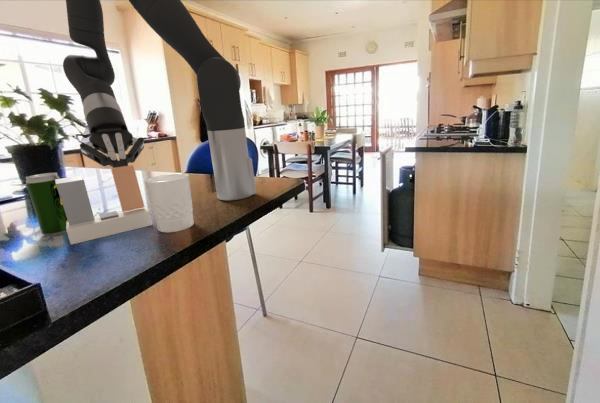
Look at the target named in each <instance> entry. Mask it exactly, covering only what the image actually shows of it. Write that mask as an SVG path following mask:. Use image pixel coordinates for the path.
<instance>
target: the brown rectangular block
mask: <svg viewBox="0 0 600 403" xmlns="http://www.w3.org/2000/svg"><path fill="white" fill-rule="evenodd" d="M110 170H111V174H112V179H113V181H114V186H115V188H116V192H117V196H118V200H119V204H120V207H121V211H122V212H126V211H131V210H135V209H140V208H144V206H145V203H144V200H143V196H142V193H141V189H140V186H139V180H138V178H137V174H136V170H135V166H134V165H132V164H131V165H128V166H123V167H115V168H113V167H111V168H110Z"/></svg>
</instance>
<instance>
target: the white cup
mask: <svg viewBox="0 0 600 403" xmlns="http://www.w3.org/2000/svg"><path fill="white" fill-rule="evenodd" d="M143 182H144V184H145V189H146V193H147V195H148V200H149V204H150V207H151V210H152V215H153V217H154V218H155V219H154V220H155V223H156V226H157V230H158V231H159V232H161V233H175V232H176V233H177V232H181V231H184V230H187V229H189V228H191V227H193V225H194V223H195V222H194V215H193V214H194V213H193V211H194V209H193V200H192V199H193V198H192V194H191V193H192V192H191V183H190V175H189V174H187V173H182V172H181V173H180V172H179V173H169V174H162V175H156V176H152V177H149V178H146V179H145V180H144V181H143Z"/></svg>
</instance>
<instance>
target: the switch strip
mask: <svg viewBox="0 0 600 403" xmlns="http://www.w3.org/2000/svg"><path fill="white" fill-rule="evenodd" d="M93 216H94V215H93ZM94 219H95V220H92V221H87V222H83V223H78V224H73V225H69V222H67V224H66V230H67V233H66V234H67V237H68V241H69V244H70V245H76V244H79V243H84V242H87V241H92V240H97V239H100V238H101V239H102V238H104V237H108V236H112V235H116V234H121V233H124V232H129V231H133V230H138V229H141V228H145V227H150V226H153V220H152V215H151V211H150V209H149V208H147V207H146V206H145V205H144V208H140V209H135V210H131V211H126V212H122V210H118V211H117V210H113V211H109V212H104V213H99V214H98V215H95V216H94Z"/></svg>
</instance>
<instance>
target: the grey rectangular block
mask: <svg viewBox="0 0 600 403" xmlns="http://www.w3.org/2000/svg"><path fill="white" fill-rule="evenodd" d="M55 182H56V186H57V189H58V192H59V195H60V198H61V201H62V204H63V207H64V210H65V213H66V216H67V219H68V222H69V225H73V224H78V223H83V222H87V221H92V220H95V219H94V213H93V209H92V206H91V201H90V198H89V194H88V190H87V187H86V183H85V180H84V175H77V176H69V177H64V178H60V179H55Z"/></svg>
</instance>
